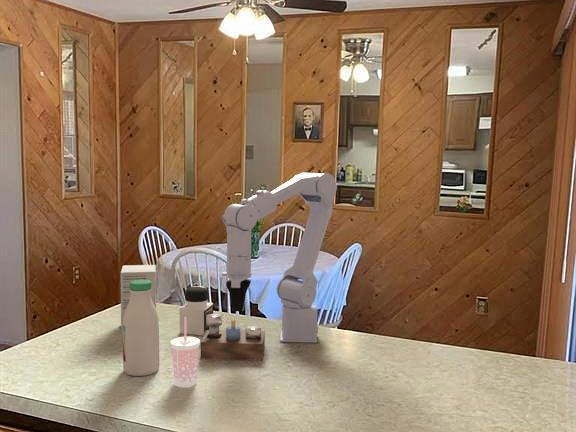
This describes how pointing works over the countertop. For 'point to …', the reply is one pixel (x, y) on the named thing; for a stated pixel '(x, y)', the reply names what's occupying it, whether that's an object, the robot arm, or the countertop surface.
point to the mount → (232, 347)
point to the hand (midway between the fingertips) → (238, 310)
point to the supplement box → (132, 274)
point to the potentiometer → (233, 331)
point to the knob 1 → (214, 325)
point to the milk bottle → (140, 331)
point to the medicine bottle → (195, 310)
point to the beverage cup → (185, 359)
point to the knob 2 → (253, 332)
